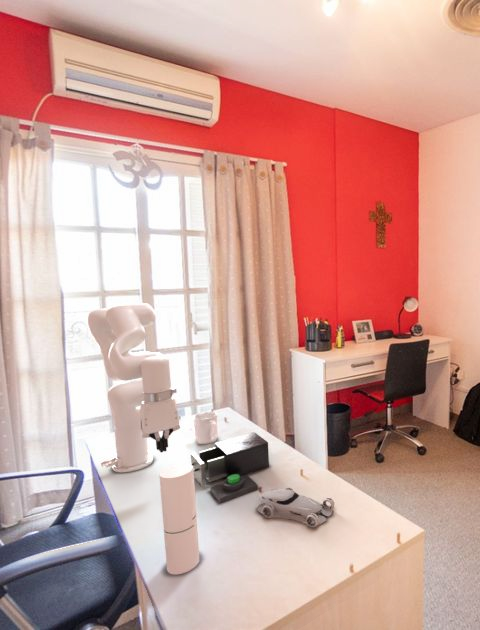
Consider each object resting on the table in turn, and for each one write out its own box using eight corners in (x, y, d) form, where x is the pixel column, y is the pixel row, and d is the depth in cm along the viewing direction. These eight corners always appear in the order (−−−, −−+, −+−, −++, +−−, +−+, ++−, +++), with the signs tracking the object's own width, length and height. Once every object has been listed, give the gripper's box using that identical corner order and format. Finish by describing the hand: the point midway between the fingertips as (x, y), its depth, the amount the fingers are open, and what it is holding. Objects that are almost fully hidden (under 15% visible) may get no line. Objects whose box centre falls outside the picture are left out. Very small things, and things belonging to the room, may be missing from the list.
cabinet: (228, 480, 144) (226, 454, 143) (216, 467, 153) (214, 443, 152) (269, 466, 154) (268, 442, 153) (255, 455, 163) (254, 431, 162)
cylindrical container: (204, 553, 108) (198, 463, 105) (190, 574, 101) (183, 477, 98) (176, 554, 108) (169, 463, 105) (160, 574, 101) (152, 478, 98)
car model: (317, 530, 118) (317, 514, 117) (248, 513, 126) (247, 497, 125) (337, 508, 128) (337, 493, 128) (272, 494, 136) (271, 479, 135)
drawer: (188, 491, 136) (186, 468, 135) (178, 478, 144) (177, 456, 143) (243, 472, 148) (241, 451, 147) (231, 461, 156) (230, 441, 155)
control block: (220, 503, 131) (219, 493, 130) (210, 491, 137) (210, 481, 137) (257, 489, 139) (257, 479, 139) (247, 479, 145) (246, 469, 145)
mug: (191, 441, 175) (189, 416, 174) (211, 434, 182) (210, 410, 181) (205, 449, 168) (204, 422, 167) (226, 441, 175) (225, 416, 174)
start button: (230, 485, 135) (229, 480, 135) (226, 481, 138) (226, 476, 138) (241, 482, 138) (241, 477, 137) (237, 477, 140) (237, 473, 140)
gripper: (180, 388, 140) (185, 440, 142) (127, 398, 130) (132, 454, 132) (187, 393, 135) (191, 447, 137) (132, 404, 124) (137, 462, 127)
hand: (162, 450), depth 134 cm, fingers closed
